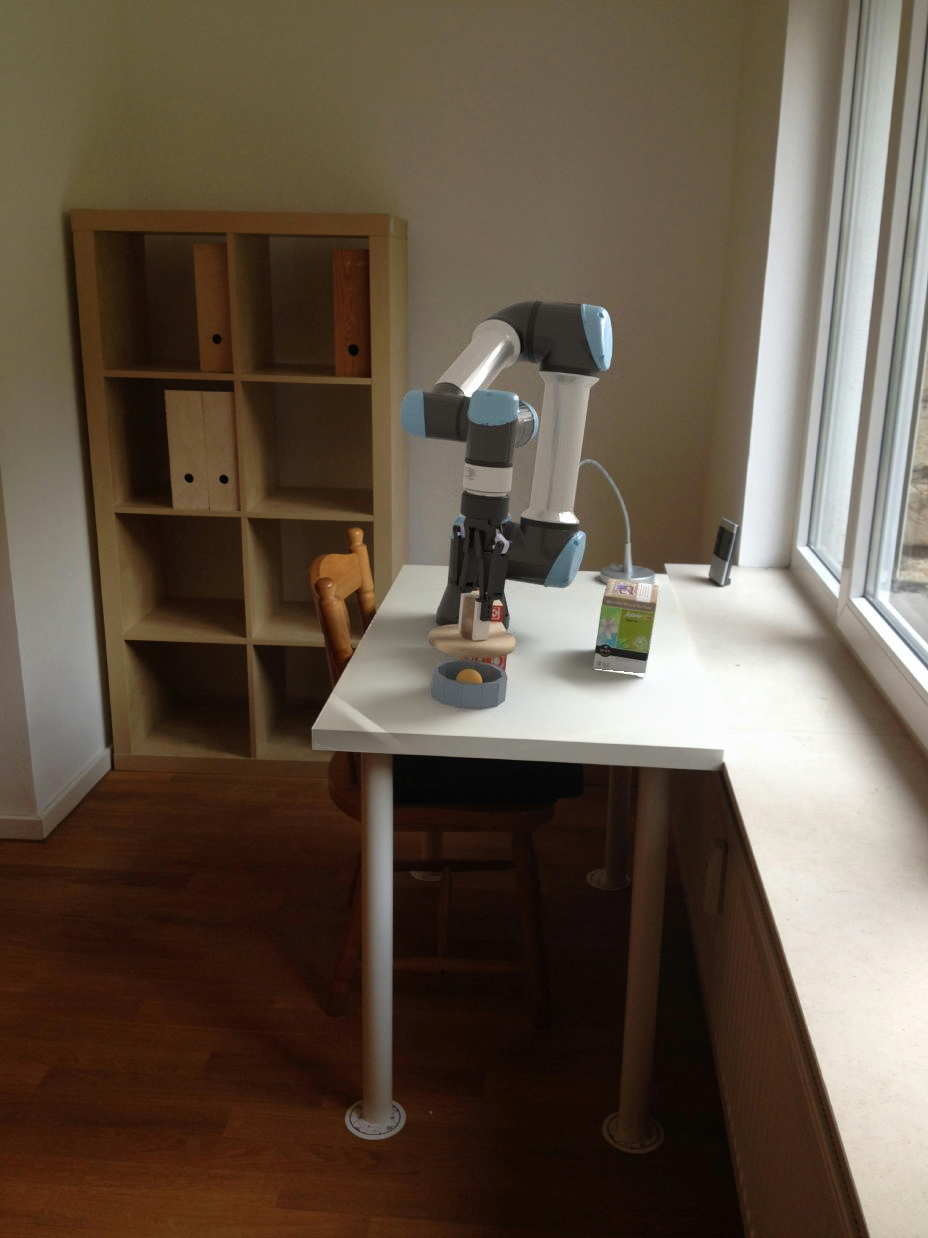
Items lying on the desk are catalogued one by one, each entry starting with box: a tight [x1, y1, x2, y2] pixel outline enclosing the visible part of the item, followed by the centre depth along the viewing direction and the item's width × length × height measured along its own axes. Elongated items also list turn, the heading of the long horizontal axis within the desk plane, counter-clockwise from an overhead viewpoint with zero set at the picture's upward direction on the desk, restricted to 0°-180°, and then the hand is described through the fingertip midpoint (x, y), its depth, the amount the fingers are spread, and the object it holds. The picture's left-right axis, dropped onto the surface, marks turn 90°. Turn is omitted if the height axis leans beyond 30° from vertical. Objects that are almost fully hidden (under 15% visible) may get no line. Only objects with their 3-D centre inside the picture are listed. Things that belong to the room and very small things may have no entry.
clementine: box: [456, 669, 482, 683], centre depth 169 cm, size 4×4×4 cm
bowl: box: [430, 659, 508, 710], centre depth 169 cm, size 12×12×5 cm
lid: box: [428, 595, 516, 658], centre depth 166 cm, size 14×14×8 cm
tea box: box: [592, 578, 659, 674], centre depth 194 cm, size 15×10×15 cm
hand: (472, 635), depth 167 cm, fingers closed on lid, 3 cm apart
